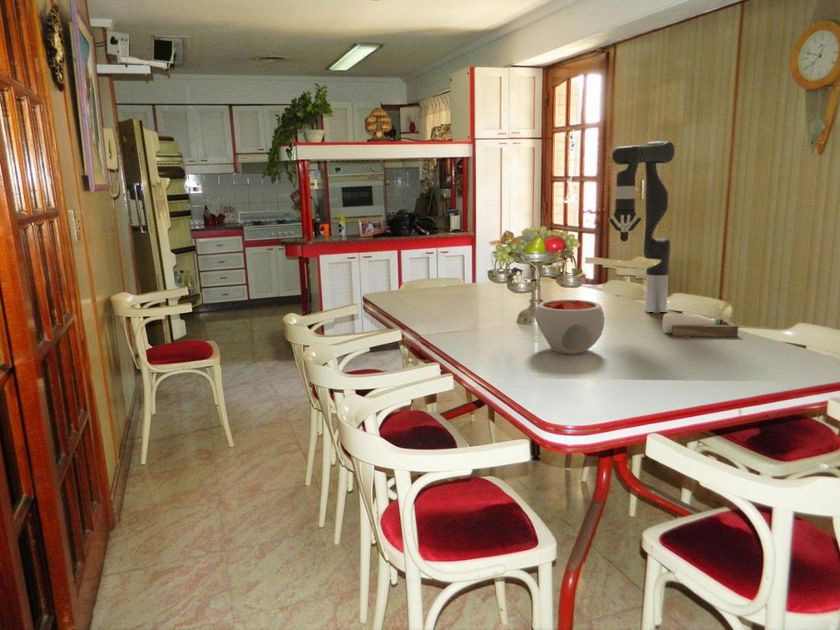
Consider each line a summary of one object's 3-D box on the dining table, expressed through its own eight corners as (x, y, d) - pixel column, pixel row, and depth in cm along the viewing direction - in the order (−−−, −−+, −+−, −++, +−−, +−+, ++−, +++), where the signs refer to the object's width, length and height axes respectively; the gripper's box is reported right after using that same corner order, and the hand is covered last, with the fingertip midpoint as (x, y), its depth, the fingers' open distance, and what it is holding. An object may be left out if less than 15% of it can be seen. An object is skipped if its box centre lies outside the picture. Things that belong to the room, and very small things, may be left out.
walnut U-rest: (664, 328, 254) (664, 318, 254) (724, 328, 251) (725, 318, 250) (673, 336, 240) (673, 326, 239) (737, 336, 236) (738, 326, 236)
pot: (616, 349, 224) (617, 300, 220) (580, 364, 207) (581, 311, 204) (557, 339, 241) (558, 294, 237) (520, 352, 224) (520, 303, 220)
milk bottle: (664, 337, 244) (719, 338, 241) (667, 320, 240) (723, 321, 237) (661, 325, 250) (714, 327, 247) (663, 309, 246) (717, 310, 243)
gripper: (640, 197, 253) (639, 240, 257) (606, 198, 255) (605, 240, 259) (644, 197, 246) (642, 241, 250) (609, 198, 248) (608, 242, 251)
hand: (623, 241), depth 254 cm, fingers closed
